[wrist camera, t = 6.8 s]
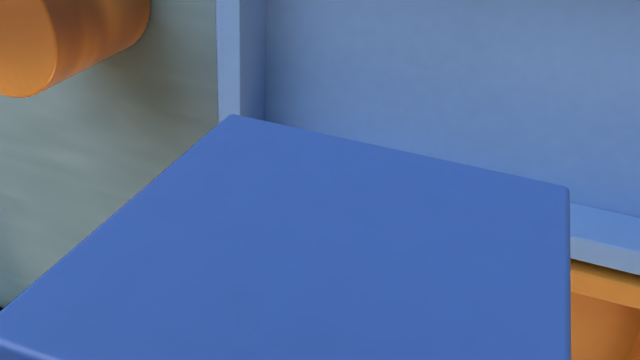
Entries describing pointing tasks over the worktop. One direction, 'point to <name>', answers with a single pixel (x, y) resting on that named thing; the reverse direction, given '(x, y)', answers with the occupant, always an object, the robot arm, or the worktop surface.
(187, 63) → the worktop surface
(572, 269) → the amber tray
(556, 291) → the blue block
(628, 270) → the blue tray
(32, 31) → the orange cylinder
